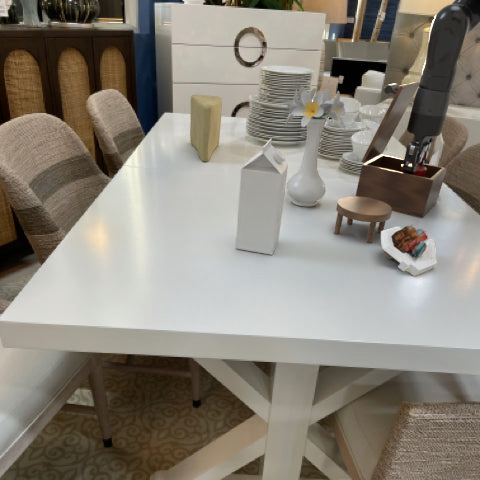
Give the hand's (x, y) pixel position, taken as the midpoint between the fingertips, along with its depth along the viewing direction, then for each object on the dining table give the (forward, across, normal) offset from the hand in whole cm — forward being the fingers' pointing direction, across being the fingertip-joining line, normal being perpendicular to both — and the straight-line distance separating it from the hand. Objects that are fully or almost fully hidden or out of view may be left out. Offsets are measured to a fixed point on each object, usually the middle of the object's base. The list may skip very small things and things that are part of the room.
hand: (409, 185), depth 115 cm
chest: (+5, 0, +2) cm, 5 cm away
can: (+3, 0, 0) cm, 3 cm away
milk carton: (+5, -46, +15) cm, 49 cm away
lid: (-13, 0, +8) cm, 15 cm away
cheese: (+5, +2, +63) cm, 63 cm away
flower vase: (+5, -17, +20) cm, 27 cm away
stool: (+5, -26, +2) cm, 27 cm away
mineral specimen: (+5, -33, -10) cm, 35 cm away
